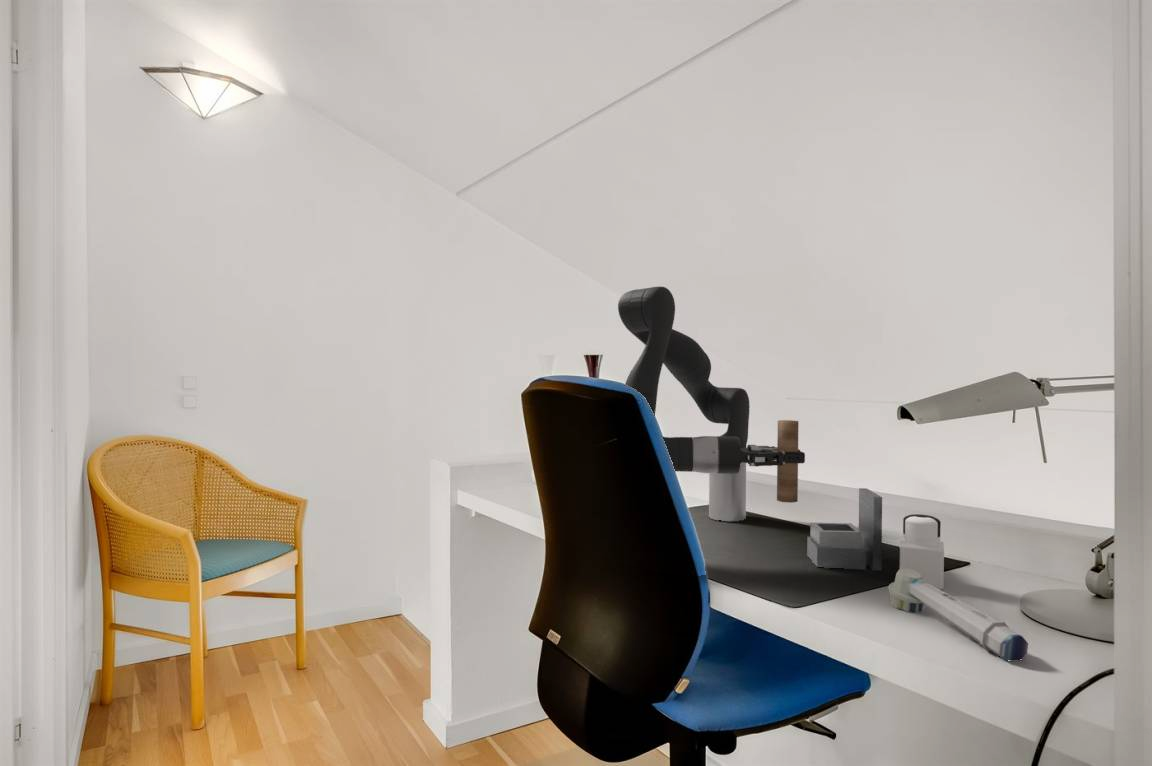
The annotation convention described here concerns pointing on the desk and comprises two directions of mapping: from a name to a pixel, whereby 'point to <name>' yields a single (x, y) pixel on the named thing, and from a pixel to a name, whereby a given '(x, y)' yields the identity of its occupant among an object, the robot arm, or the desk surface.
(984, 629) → the toothbrush head
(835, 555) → the cup bracket
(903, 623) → the desk surface
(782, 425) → the brown wooden cylinder
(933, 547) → the medicine bottle
